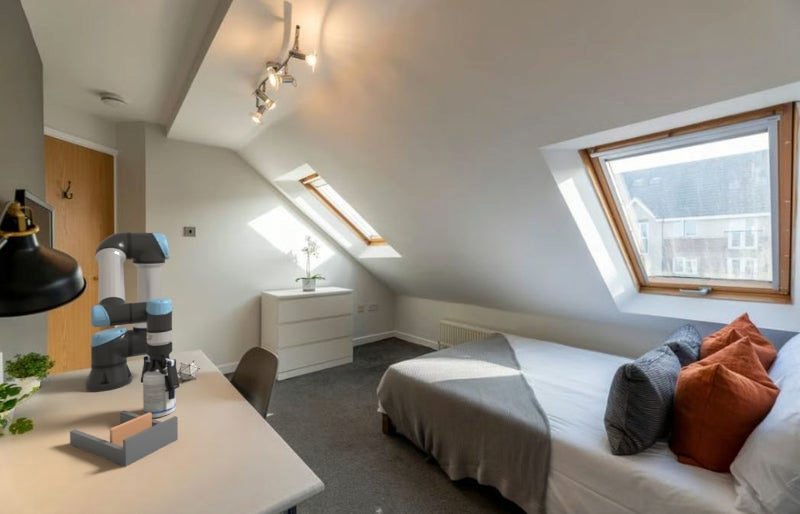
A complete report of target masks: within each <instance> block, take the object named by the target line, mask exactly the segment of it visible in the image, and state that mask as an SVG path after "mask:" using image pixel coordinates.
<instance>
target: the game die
mask: <svg viewBox="0 0 800 514" xmlns="http://www.w3.org/2000/svg"><path fill="white" fill-rule="evenodd" d="M199 370H201V368H200V367H198V366H197V364H195V360H192V361H191V362H184V363H183V362H180V367H179V370H178V371H177V374H178V377H180V379H182V380H181V382H182V383H183V382H184V381H187V380H191V379H194V380H197V373H198V371H199Z"/></svg>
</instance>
